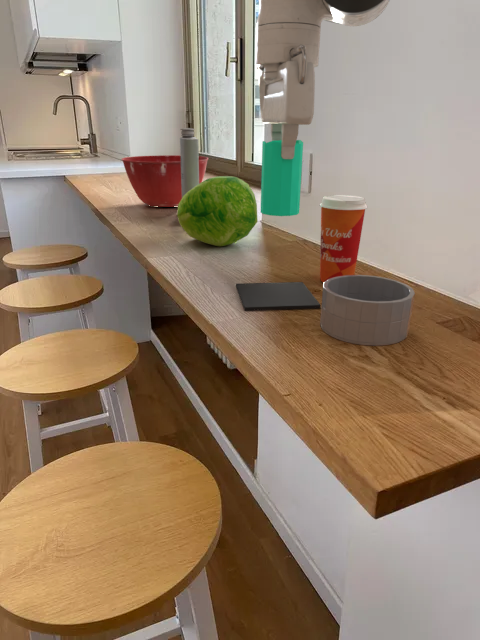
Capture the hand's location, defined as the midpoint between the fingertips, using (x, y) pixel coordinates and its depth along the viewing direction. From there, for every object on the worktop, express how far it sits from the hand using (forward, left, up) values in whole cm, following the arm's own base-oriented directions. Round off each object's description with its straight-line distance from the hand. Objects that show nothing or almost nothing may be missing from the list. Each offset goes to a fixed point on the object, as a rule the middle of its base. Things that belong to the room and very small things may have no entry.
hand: (282, 157), depth 74 cm
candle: (0, 0, -8) cm, 8 cm away
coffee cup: (-13, -8, -22) cm, 27 cm away
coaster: (0, 0, -22) cm, 22 cm away
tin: (-10, +14, -22) cm, 28 cm away
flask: (+12, -67, -22) cm, 72 cm away
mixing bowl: (+19, -96, -22) cm, 100 cm away
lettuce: (+7, -38, -22) cm, 45 cm away
